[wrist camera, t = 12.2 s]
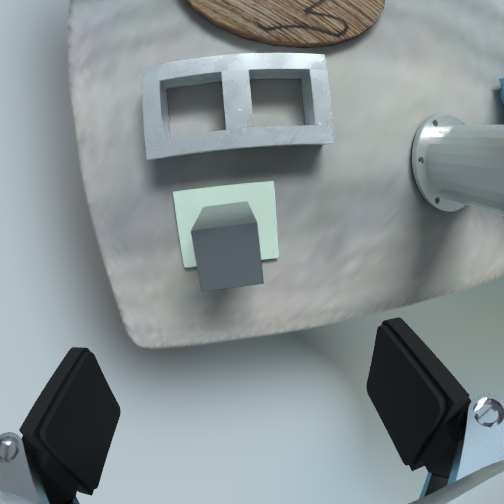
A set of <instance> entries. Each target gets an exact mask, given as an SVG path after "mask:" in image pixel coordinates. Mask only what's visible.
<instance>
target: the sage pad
mask: <svg viewBox="0 0 504 504" xmlns="http://www.w3.org/2000/svg"><path fill="white" fill-rule="evenodd" d="M173 195H174V203H175V211H176V218H177V225H178V232H179V238H180V245H181V251H182V257H183V263H184V268H186V267H196V266H197V264H196V259H195V253H194V248H193V242H192V236H191V229H192V227H193V225H194V223H195V222H196V220H197V218H198V216H199V214H200V212H201V210H202V208H203V207H206V206H213V205H221V204H228V203H236V202H244V201H248V204H249V206H250V208H251V210H252V212H253V214H254V216H255V218H256V220H257V224H258V233H259V243H260V252H261V260H263V259H272V258H279V253H278V236H277V220H276V205H275V191H274V181H266V182H254V183H243V184H232V185H223V186H214V187H205V188H197V189H189V190H181V191H174V192H173Z"/></svg>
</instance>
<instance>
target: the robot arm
mask: <svg viewBox="0 0 504 504" xmlns="http://www.w3.org/2000/svg"><path fill="white" fill-rule="evenodd" d="M412 167H413V174H414V177H415V181H416V184H417V186H418V188H419V191H420V192H421V194H422V195H423V197H424V198H425V199H426V201H427V202H428V203H429V204H431V205H432V206H433V207H435V208H437V209H440V210H443V211H447V212H453V211H457V210H460V209H461V208H463V207H464V206H465V205H469V206H472V207H475V208H478V209H482V210H485V211H488V212H491V213H494V214H497V215H500V216H503V217H504V125H465V124H464V123H463V122H462V121H461V120H460V119H458V118H457V117H455V116H452V115H450V114H436V115H433V116H431V117H429V118H427V119H426V120H425V121H424V122H423V123H422V124H421V126H420V127H419V129H418V131H417V133H416V135H415V139H414V142H413V148H412ZM367 392H368V395H369V397H370V398H371V400H372V402H373V404H374V406H375V408H376V410H377V412H378V414H379V416H380V418H381V419H382V422H383V423H384V425H385V427H386V429H387V431H388V433H389V435H390V437H391V439H392V441H393V443H394V445H395V447H396V449H397V451H398V453H399V455H400V457H401V459H402V461H403V463H404V464H405V465H409V466H410V468H411V470H412V471H413V470H416V469H418V468H420V467H423V466H426V468H427V470H428V475H427V478H426V481H425V484H424V486H423V489H422V492H421V495H420V497H419V499H418V500H416V501H414V502H412V503H409V504H504V402H503V401H502V400H501V399H500V398H498V397H497V396H494V395H490V394H483V395H480V396H477V397H476V398H474V399H473V400H472V401H471V400H470V399H469V398H468V397H469V394H468V393H467V392H466V391H465V389H464V388H463V387H462V386H461V385H460V383H459V382H458V381H457V380H456V379H455V377H454V376H453V375H452V374H451V373H450V372H449V371H448V369H447V368H446V367H445V366H444V365H443V364H442V362H441V361H440V360H439V359H438V358H437V357H436V356H435V354H434V353H433V352H432V351H431V350H430V349H429V348H428V347H427V346H426V344H425V343H424V342H423V341H422V340H421V339H420V338H419V337H418V336H417V335H416V333H414V331H413V330H412V329H411V328H410V327H409V326H408V325H407V324H406V323H405V322H404V321H403V320H402V319H401V318H394V319H389V320H385V321H383V322H382V325H381V326H379V327H378V329H377V335H376V340H375V346H374V352H373V357H372V362H371V367H370V372H369V377H368V381H367ZM119 417H120V407H119V405H118V403H117V401H116V399H115V397H114V395H113V393H112V391H111V389H110V387H109V385H108V383H107V381H106V379H105V377H104V375H103V373H102V371H101V369H100V366H99V364H98V362H97V360H96V358H95V355H94V354H93V353H92V352H90V350H89V349H88V348H76V347H73V348H71V349H70V350H69V352H68V353H67V355H66V356H65V357H64V359H63V360H62V362H61V364H60V365H59V366H58V368H57V369H56V371H55V372H54V374H53V375H52V377H51V378H50V380H49V382H48V383H47V385H46V386H45V388H44V389H43V391H42V392H41V394H40V396H39V397H38V399H37V401H36V402H35V404H34V406H33V407H32V409H31V410H30V412H29V414H28V416H27V417H26V419H25V421H24V422H23V424H22V426H21V428H20V430H19V431H20V432H21V433H22V434H23V437H22V439H21V438H20V437H19V436H18V435H17V434H15V433H11V432H8V433H3V434H2V435H0V504H79V502H78V500H77V497H76V492H77V491H79V492H81V493H84V494H88V495H92V494H93V490H94V489H96V488H97V487H98V485H99V481H100V477H101V474H102V470H103V467H104V464H105V461H106V457H107V454H108V450H109V448H110V444H111V441H112V438H113V435H114V432H115V429H116V426H117V423H118V420H119Z"/></svg>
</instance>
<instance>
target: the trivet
mask: <svg viewBox="0 0 504 504" xmlns="http://www.w3.org/2000/svg"><path fill="white" fill-rule="evenodd" d="M186 1H187V2H188V3H189V5H190V6H191V7H192V9H193V10H194V11H195V12H196V13H198V14H199V15H201V16H202V17H203V18H205V19H206V20H208V21H209V22H210V23H212V24H213V25H215V26H216V27H219V28H221V29H223V30H226V31H228V32H230V33H233V34H235V35H237V36H239V37H242V38H245V39H249V40H253V41H257V42H261V43H265V44H269V45H273V46H285V47H296V48H311V47H322V46H332V45H335V44H338V43H341V42H344V41H347V40H350V39H354V38H355V37H356V36H358V35H359V34H361V33H362V32H363V31H365V30H366V29H368V28H369V27H370V26H372V25H373V24H374V23H375V22H376V20H377V19H378V17H379V16H380V14H381V12H382V11H383V9H384V4H385V0H186Z"/></svg>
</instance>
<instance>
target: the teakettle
mask: <svg viewBox="0 0 504 504" xmlns="http://www.w3.org/2000/svg"><path fill="white" fill-rule="evenodd" d="M499 80H500V83H501V86H502V89H503V90H500V99H501V102H502V104H503V105H504V78H502V79H499Z"/></svg>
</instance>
